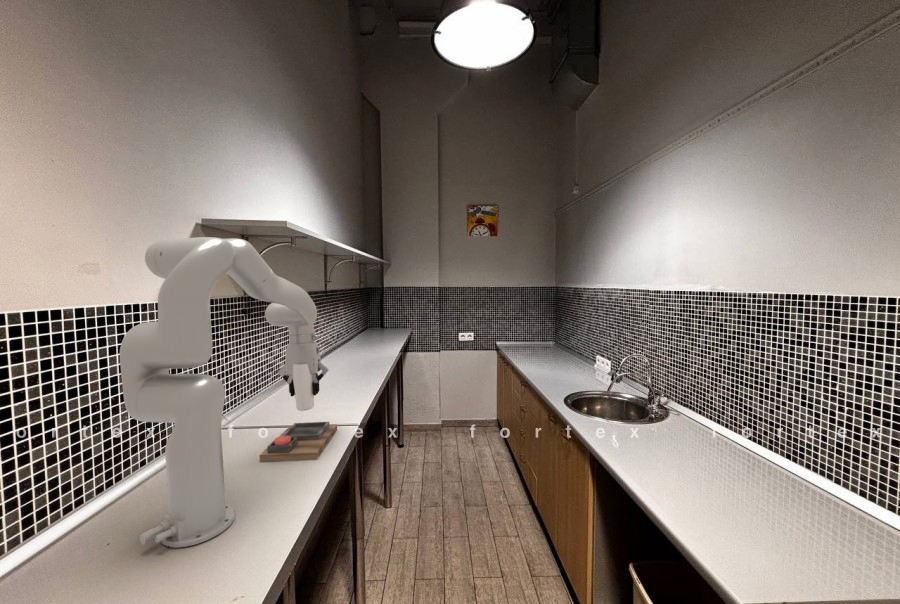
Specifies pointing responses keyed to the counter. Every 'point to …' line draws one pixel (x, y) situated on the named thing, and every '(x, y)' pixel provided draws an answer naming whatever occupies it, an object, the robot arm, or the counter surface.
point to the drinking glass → (303, 387)
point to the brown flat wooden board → (301, 442)
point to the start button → (282, 440)
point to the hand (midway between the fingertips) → (304, 394)
